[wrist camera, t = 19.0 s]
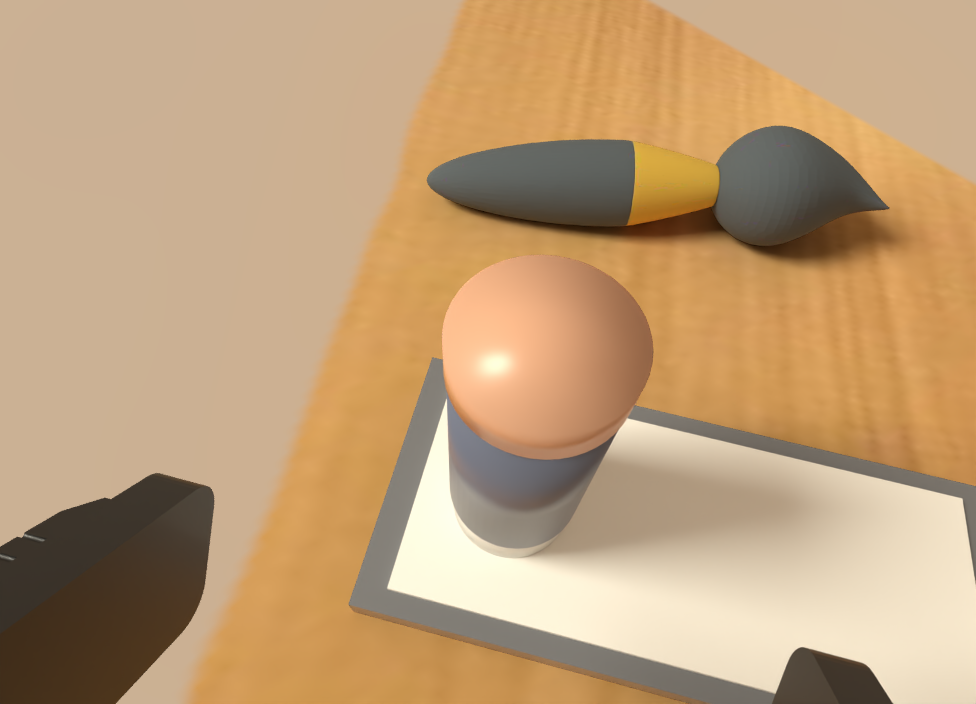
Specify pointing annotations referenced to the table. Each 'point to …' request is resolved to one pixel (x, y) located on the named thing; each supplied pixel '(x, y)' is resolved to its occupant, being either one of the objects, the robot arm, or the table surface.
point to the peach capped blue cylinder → (536, 394)
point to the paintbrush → (665, 184)
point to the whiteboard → (695, 565)
